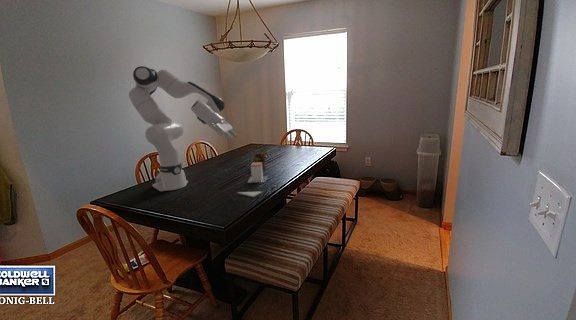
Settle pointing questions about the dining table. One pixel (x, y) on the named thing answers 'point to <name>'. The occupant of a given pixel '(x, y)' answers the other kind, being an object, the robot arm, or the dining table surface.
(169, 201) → the dining table surface
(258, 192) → the pad
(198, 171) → the dining table surface
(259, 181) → the square base plate
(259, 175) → the pink tall block
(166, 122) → the robot arm
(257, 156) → the wooden mug
